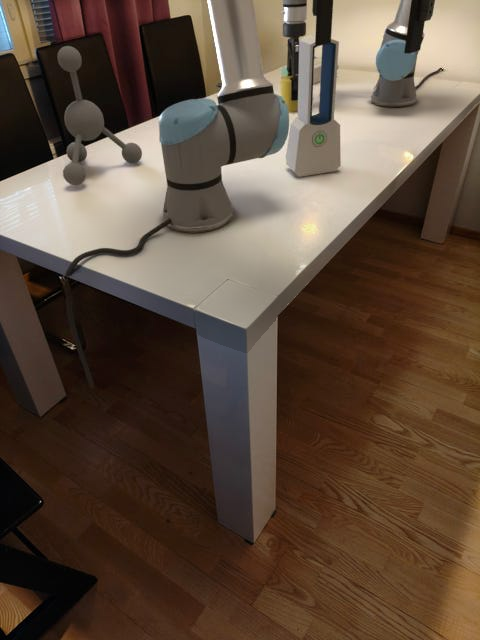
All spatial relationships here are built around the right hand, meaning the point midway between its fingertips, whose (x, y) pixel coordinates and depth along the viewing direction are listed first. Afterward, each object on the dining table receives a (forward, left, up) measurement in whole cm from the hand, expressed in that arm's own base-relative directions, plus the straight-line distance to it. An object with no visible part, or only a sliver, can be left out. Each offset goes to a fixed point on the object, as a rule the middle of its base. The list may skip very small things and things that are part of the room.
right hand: (293, 96), depth 171 cm
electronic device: (+52, +28, -4) cm, 59 cm away
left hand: (+96, +52, +32) cm, 114 cm away
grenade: (+16, -18, -4) cm, 24 cm away
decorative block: (-45, -12, -4) cm, 47 cm away
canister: (0, 0, -4) cm, 4 cm away
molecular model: (+72, -25, -4) cm, 77 cm away
